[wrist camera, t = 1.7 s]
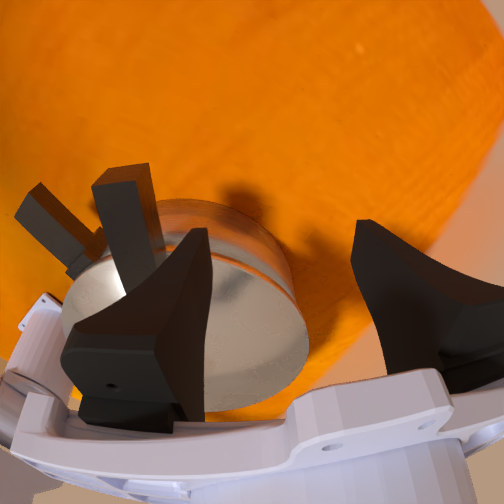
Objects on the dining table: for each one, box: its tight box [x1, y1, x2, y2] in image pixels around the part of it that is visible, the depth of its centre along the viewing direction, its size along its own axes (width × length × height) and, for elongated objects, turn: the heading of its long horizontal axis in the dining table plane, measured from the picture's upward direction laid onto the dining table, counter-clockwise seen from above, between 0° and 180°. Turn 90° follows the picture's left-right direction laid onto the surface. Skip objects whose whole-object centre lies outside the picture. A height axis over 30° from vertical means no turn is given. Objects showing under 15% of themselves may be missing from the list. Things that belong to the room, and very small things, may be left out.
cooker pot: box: [14, 182, 297, 304], centre depth 22 cm, size 23×17×6 cm
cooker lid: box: [61, 163, 309, 412], centre depth 19 cm, size 22×18×3 cm
